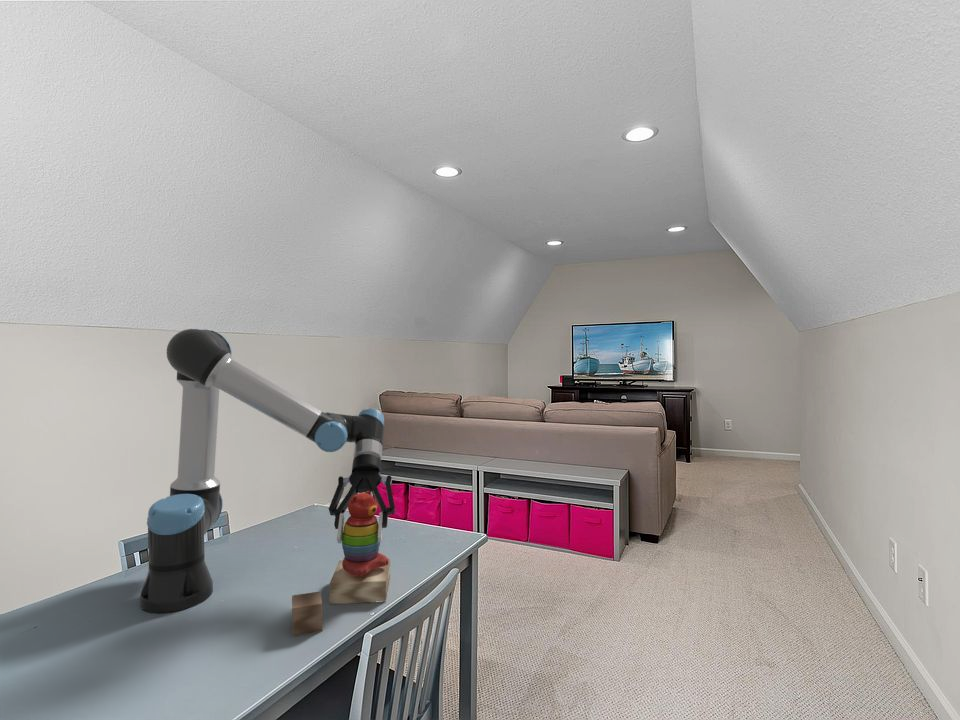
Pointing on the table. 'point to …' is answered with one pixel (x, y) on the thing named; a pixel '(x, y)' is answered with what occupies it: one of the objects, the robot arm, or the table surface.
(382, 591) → the maple block
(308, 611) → the walnut cube
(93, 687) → the table surface
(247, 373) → the robot arm
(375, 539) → the stacking bear
